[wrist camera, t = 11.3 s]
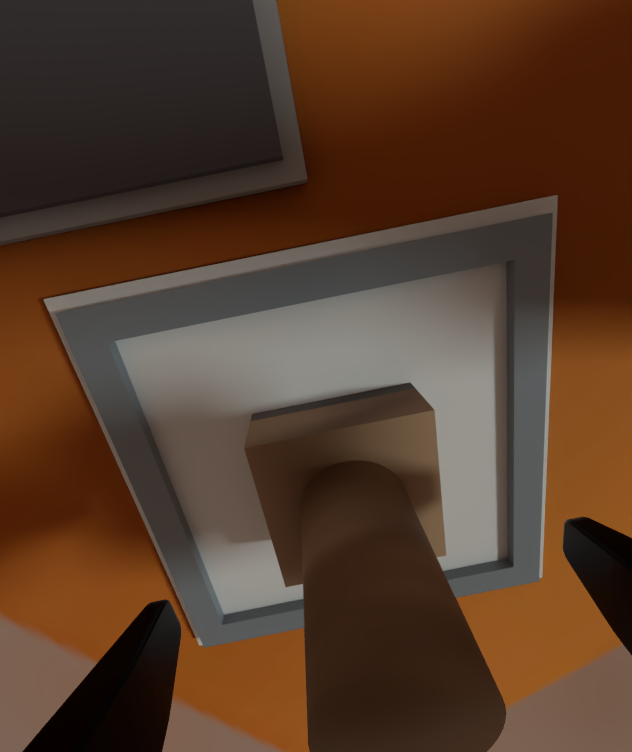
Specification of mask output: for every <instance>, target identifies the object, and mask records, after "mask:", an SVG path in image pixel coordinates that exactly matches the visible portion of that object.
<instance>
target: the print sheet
mask: <svg viewBox="0 0 632 752" xmlns="http://www.w3.org/2000/svg"><path fill="white" fill-rule="evenodd" d="M557 204H558V195H554V196H549V197H544V198H539V199H534V200H529V201H524V202H519V203H514V204H509V205H505V206H500V207H495V208H490V209H485V210H480V211H475V212H470V213H465V214H460V215H455V216H450V217H445V218H441V219H436V220H431V221H426V222H421V223H416V224H411V225H406V226H401V227H396V228H391V229H386V230H381V231H377V232H372V233H367V234H362V235H357V236H352V237H347V238H342V239H337V240H332V241H327V242H322V243H317V244H313V245H308V246H303V247H298V248H293V249H288V250H283V251H278V252H273V253H268V254H263V255H258V256H253V257H249V258H244V259H239V260H234V261H229V262H224V263H219V264H214V265H209V266H204V267H199V268H194V269H189V270H185V271H180V272H175V273H170V274H165V275H160V276H155V277H150V278H145V279H140V280H135V281H130V282H126V283H121V284H116V285H111V286H106V287H101V288H96V289H91V290H86V291H81V292H76V293H71V294H66V295H62V296H57V297H52V298H47V299H43V300H44V302H45V304H46V307H47V309H48V311H49V313H50V315H51V318H52V320H53V322H54V324H55V327H56V329H57V331H58V333H59V335H60V338H61V340H62V342H63V344H64V347H65V349H66V351H67V353H68V355H69V358H70V360H71V362H72V364H73V366H74V369H75V371H76V373H77V375H78V378H79V380H80V382H81V384H82V386H83V389H84V391H85V393H86V395H87V397H88V400H89V402H90V404H91V406H92V409H93V411H94V413H95V415H96V417H97V420H98V422H99V424H100V426H101V428H102V431H103V433H104V435H105V437H106V440H107V442H108V444H109V446H110V448H111V451H112V453H113V455H114V457H115V459H116V462H117V464H118V466H119V468H120V471H121V473H122V475H123V477H124V479H125V482H126V484H127V486H128V488H129V490H130V493H131V495H132V497H133V499H134V502H135V504H136V506H137V508H138V510H139V513H140V515H141V517H142V519H143V521H144V524H145V526H146V528H147V530H148V533H149V535H150V537H151V539H152V541H153V544H154V546H155V548H156V550H157V552H158V555H159V557H160V559H161V561H162V564H163V566H164V568H165V570H166V572H167V575H168V577H169V579H170V581H171V583H172V586H173V588H174V590H175V592H176V595H177V597H178V599H179V601H180V603H181V606H182V608H183V610H184V612H185V615H186V617H187V619H188V621H189V623H190V626H191V628H192V630H193V632H194V634H195V637H196V639H197V641H198V643H199V646H200V645H203V646H204V648H205V647H210V646H215V645H220V644H225V643H230V642H235V641H240V640H245V639H250V638H255V637H260V636H265V635H270V634H275V633H280V632H285V631H290V630H295V629H300V628H304V602H303V584H300V585H295V586H290V587H285V584H284V580H283V577H282V574H281V570H280V567H279V564H278V560H277V557H276V553H275V550H274V547H273V543H272V540H271V537H270V533H269V530H268V527H267V523H266V520H265V517H264V513H263V510H262V507H261V503H260V500H259V497H258V493H257V490H256V487H255V483H254V480H253V477H252V473H251V470H250V467H249V463H248V460H247V457H246V453H245V450H244V446H245V442H246V437H247V433H248V429H249V425H250V420H251V416H252V414H255V413H260V412H265V411H270V410H275V409H280V408H285V407H290V406H295V405H300V404H305V403H310V402H315V401H320V400H325V399H330V398H335V397H340V396H345V395H350V394H355V393H360V392H365V391H370V390H375V389H380V388H385V387H390V386H395V385H400V384H405V383H411V384H412V385H413V386H414V387H415V388H416V389H417V391H418V392H419V393H420V394H421V395H422V396H423V397H424V399H425V400H426V401H427V402H428V403H429V404H430V405H431V406H432V408H433V409H434V410H435V421H436V434H437V446H438V459H439V471H440V483H441V496H442V508H443V520H444V533H445V545H446V556H442V557H437V559H438V561H439V563H440V566H441V568H442V570H443V572H444V574H445V576H446V578H447V581H448V583H449V585H450V587H451V589H452V591H453V593H454V595H455V598H456V597H461V596H466V595H472V594H477V593H482V592H487V591H492V590H497V589H502V588H507V587H512V586H517V585H522V584H527V583H532V582H537V581H539V578H542V568H543V544H544V520H545V495H546V471H547V447H548V423H549V398H550V374H551V350H552V326H553V301H554V277H555V253H556V229H557Z"/></svg>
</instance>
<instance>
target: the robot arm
mask: <svg viewBox="0 0 632 752" xmlns="http://www.w3.org/2000/svg"><path fill="white" fill-rule="evenodd" d="M563 551H564V554H565V556H566V558H567V560H568V562H569V563H570V565H571V566H572V568H573V569H574V571H575V573H576V574H577V576H578V577H579V579H580V580H581V582H582V583H583V585H584V587H585V588H586V590H587V591H588V593H589V594H590V596H591V597H592V599H593V601H594V602H595V604H596V605H597V607H598V608H599V610H600V611H601V613H602V614H603V616H604V618H605V619H606V621H607V622H608V624H609V625H610V627H611V628H612V630H613V631H614V632H615V634H616V635H617V637H618V638H619V639H620V641H621V642H622V643H623V645H624V646H625V647H626V649H627V650H628V651H629V652H630V654H631V655H632V538H630V537H628V536H626V535H624V534H622V533H620V532H618V531H616V530H613V529H611V528H609V527H607V526H605V525H603V524H601V523H598V522H596V521H594V520H592V519H590V518H587V517H579V518H574V519H569V520H567V521H566V522H565V524H564V536H563ZM180 639H181V626H180V622H179V620H178V618H177V616H176V614H175V611H174V609H173V607H172V605H171V603H170V602H169V601H168V600H160V601H155V602H151V603H149V604H148V605H147V606H146V607H145V608H144V609H143V610H142V611H141V613H140V614H139V615H138V616H137V617H136V618H135V620H134V621H133V622H132V623H131V624H130V626H129V627H128V628H127V629H126V630H125V631H124V633H123V634H122V635H121V636H120V637H119V638H118V640H117V641H116V642H115V643H114V644H113V646H112V647H111V648H110V649H109V650H108V651H107V653H106V654H105V655H104V656H103V657H102V658H101V660H100V661H99V662H98V663H97V664H96V666H95V667H94V668H93V669H92V670H91V672H90V673H89V674H88V675H87V676H86V677H85V679H84V680H83V681H82V682H81V683H80V685H79V686H78V687H77V688H76V689H75V690H74V692H73V693H72V694H71V695H70V696H69V697H68V699H67V700H66V701H65V702H64V703H63V705H62V706H61V707H60V708H59V709H58V710H57V712H56V713H55V714H54V715H53V716H52V717H51V719H50V720H49V721H48V722H47V723H46V725H45V726H44V727H43V728H42V729H41V730H40V732H39V733H38V734H37V735H36V736H35V737H34V739H33V740H32V741H31V742H30V743H29V745H28V746H27V747H26V748H25V749H24V750H23V752H162V749H163V745H164V740H165V736H166V731H167V726H168V721H169V716H170V710H171V703H172V696H173V689H174V682H175V675H176V667H177V660H178V653H179V646H180Z"/></svg>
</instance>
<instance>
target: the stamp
mask: <svg viewBox="0 0 632 752" xmlns="http://www.w3.org/2000/svg"><path fill="white" fill-rule="evenodd" d="M244 450H245V453H246V457H247V460H248V463H249V467H250V470H251V473H252V477H253V480H254V483H255V487H256V490H257V493H258V497H259V500H260V503H261V507H262V510H263V513H264V517H265V520H266V523H267V527H268V530H269V533H270V537H271V540H272V543H273V547H274V550H275V553H276V557H277V560H278V564H279V567H280V570H281V574H282V577H283V580H284V584H285V587H290V586H295V585H300V584H303V602H304V632H305V662H306V691H307V721H308V745H309V750H310V752H487V751H488V750H489V749H490V748H491V747H492V746H493V744H494V743H495V742H496V740H497V739H498V737H499V736H500V734H501V732H502V730H503V727H504V724H505V718H506V709H505V704H504V701H503V698H502V696H501V694H500V692H499V690H498V687H497V685H496V683H495V681H494V679H493V677H492V675H491V672H490V670H489V668H488V666H487V664H486V662H485V660H484V657H483V655H482V653H481V651H480V649H479V647H478V645H477V643H476V640H475V638H474V636H473V634H472V632H471V630H470V628H469V625H468V623H467V621H466V619H465V617H464V615H463V613H462V610H461V608H460V606H459V604H458V602H457V600H456V598H455V595H454V593H453V591H452V589H451V587H450V585H449V583H448V581H447V578H446V576H445V574H444V572H443V570H442V568H441V566H440V563H439V561H438V559H437V557H442V556H446V545H445V533H444V520H443V508H442V496H441V483H440V471H439V459H438V446H437V434H436V421H435V410H434V409H433V408H432V406H431V405H430V404H429V403H428V402H427V401H426V400H425V399H424V397H423V396H422V395H421V394H420V393H419V392H418V391H417V389H416V388H415V387H414V386H413V385H412V384H411V383H405V384H400V385H395V386H390V387H385V388H380V389H375V390H370V391H365V392H360V393H355V394H350V395H345V396H340V397H335V398H330V399H325V400H320V401H315V402H310V403H305V404H300V405H295V406H290V407H285V408H280V409H275V410H270V411H265V412H260V413H255V414H252V416H251V420H250V425H249V429H248V433H247V437H246V442H245V446H244Z"/></svg>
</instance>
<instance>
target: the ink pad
mask: <svg viewBox="0 0 632 752" xmlns="http://www.w3.org/2000/svg"><path fill="white" fill-rule="evenodd" d="M307 179H308V178H307V173H306V167H305V161H304V156H303V150H302V144H301V138H300V133H299V127H298V121H297V116H296V110H295V104H294V99H293V93H292V87H291V82H290V76H289V70H288V65H287V59H286V53H285V47H284V42H283V36H282V30H281V25H280V19H279V13H278V8H277V2H276V0H0V246H1V245H6V244H10V243H15V242H20V241H25V240H30V239H35V238H40V237H45V236H50V235H55V234H59V233H64V232H69V231H74V230H79V229H84V228H89V227H94V226H99V225H104V224H108V223H113V222H118V221H123V220H128V219H133V218H138V217H143V216H148V215H153V214H158V213H162V212H167V211H172V210H177V209H182V208H187V207H192V206H197V205H202V204H207V203H211V202H216V201H221V200H226V199H231V198H236V197H241V196H246V195H251V194H256V193H261V192H265V191H270V190H275V189H280V188H285V187H290V186H295V185H300V184H305V183H307Z"/></svg>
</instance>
